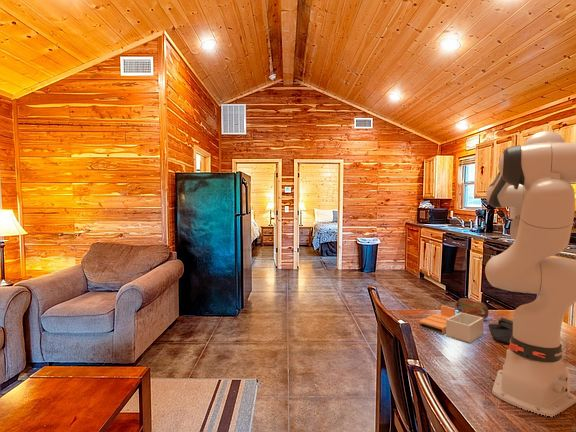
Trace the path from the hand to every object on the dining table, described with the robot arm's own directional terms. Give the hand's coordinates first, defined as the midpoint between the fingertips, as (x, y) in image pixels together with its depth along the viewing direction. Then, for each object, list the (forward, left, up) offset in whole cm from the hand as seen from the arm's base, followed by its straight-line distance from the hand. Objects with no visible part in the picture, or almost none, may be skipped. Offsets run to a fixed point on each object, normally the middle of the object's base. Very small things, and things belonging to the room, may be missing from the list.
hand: (522, 249), depth 126 cm
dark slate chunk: (0, +4, -37) cm, 37 cm away
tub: (-14, +16, -36) cm, 42 cm away
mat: (-13, +27, -36) cm, 47 cm away
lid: (-12, +27, -36) cm, 47 cm away
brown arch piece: (+12, +23, -37) cm, 45 cm away
